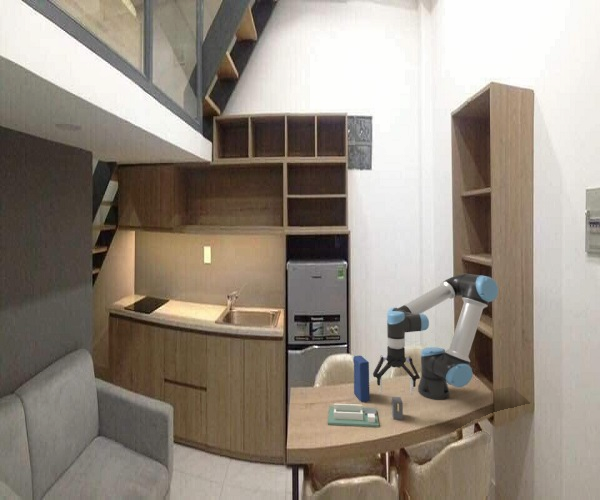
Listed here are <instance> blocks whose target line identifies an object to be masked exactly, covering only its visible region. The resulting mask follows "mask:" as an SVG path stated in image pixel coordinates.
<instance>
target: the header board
mask: <svg viewBox="0 0 600 500" xmlns="http://www.w3.org/2000/svg"><path fill="white" fill-rule="evenodd" d="M328 407H329V408H328V417H327V425H328V426H349V427H363V428H364V427H367V428H369V427H370V428H379V427H380V424H379V423H380V422H379V417H378V411H377V408H376V407H363V404H358V403H357V404H356V403H355V404H354V403H353V404H351V403H333V406H332V405H330V406H328Z"/></svg>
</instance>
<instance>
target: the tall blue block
mask: <svg viewBox="0 0 600 500" xmlns="http://www.w3.org/2000/svg"><path fill="white" fill-rule="evenodd" d="M352 361H353V379H354V380H353V393H354V395H355V397H357V398H358V400H359V401H360V402H362V403H366V402H367V403H368V402H369V401H370V398H371V397H370V362H369V361H368V360H367V359H365V358H364V356H362V355H354V356H353V358H352Z"/></svg>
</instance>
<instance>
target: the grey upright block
mask: <svg viewBox="0 0 600 500" xmlns="http://www.w3.org/2000/svg"><path fill="white" fill-rule="evenodd" d="M403 406H404V405H403V400H402V398H401V396H391V414H392V415H391V416H392V420H393V421H396V420H397V421H403V420H404V415H403V414H404V412H403V411H404V410H403Z"/></svg>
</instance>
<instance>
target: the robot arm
mask: <svg viewBox="0 0 600 500" xmlns="http://www.w3.org/2000/svg"><path fill="white" fill-rule="evenodd" d="M498 295H499V287H498V284H497V282H496V280H495V279H493V278H492V277H491V276H486V275H483V274H481V275H480V274H470V273H460V274H456V275H454V276H451V277H449V278H447V279H445V280H443V281H441V283H440V285H438V286H436V287H434V288H432V289H431V290H429V291H427V292H425V293H424V294H421V295H420V296H417V297H416V298H415V299H412V300H411V301H409V302H407V303H405V304H404V305H401V306H400V307H391V308H389V309H388V310H387V314H386V315H387V317H386V319H387V320H386V328H387V329H386V330H387V331H386V333H387V335H386V336H387V338H386V339H387V340H386V341H387V342H386V343H387V348H386V349H387V351H386V352H387V355H386V356H383V355H380V357H379V361H378V363H377V365H376V367H375V368H374V371H373V373H372V375H373V377H374V378H376V383H377V386H379V393H380V394H382V393H383V377H382V376H383V375H384V374H386V372H388V370H389V369H390V368H397V369H399V368H402V369H404V370H405V372H406V373H407V374H408V375H409V376H410V378H409V380H410V381H409V383H410V384H409V387H410V390H409V393H410V395H411V396H414V388H416V386H417V385H418V386H417V393H419V394H420V396H423V397H424V398H427V399H432V400H445V399H447V398H448V397H450V388H449V385H451V386H453V387H456V388H463V387H465V386H467V385H468V384H469V383H470V382H471V380H472V379H473V374H474V373H473V372H474V371H473V369H472V367H471V366H470V364H471V360H470V357H469V356H470V353H471V348H472V347H473V342H474V340H475V336H476V333H477V329H478V327H479V323H480V319H481V317H482V313H483V310H484V309H485V308H488V306H489V303H490V302H493V301H495V300H496V299H497V298H498ZM456 297H461V300H462V301H463V304H462V306H461V307H462V308H461V311H460V314H459V317H458V321H457V323H456V327H455V329H454V333H453V335H452V339H451V342H450V346H449V349H447V350H445V348H443V347H438V346H437V347H436V346H435V347H434V346H431V347H429V346H428V347H424V348H422V350H421V352H420V369H421V371H420V372H421V373H420V375H421V377H420V375H419V373H418V371H417V369H416V366H415V365H414V363H413V358H412V356H410V355H409V356H408V357H406V353H405V352H406V348H405V346H406V345H405V341H406V340H405V339H406V338H405V337H406V333H415V332H421V331H422V332H423V331H426V330H428V328H429V327H430V326H429V325H430V322H429V318H428V316H427V315H426V314H424V312H426V311H429V310H430V309H432V308H433V307H436V306H437V305H439V304H441V303H442V302H444V301H446V300H448V299H454V298H456ZM386 361H387V362H386ZM384 362H386V364H385V365H384V367H383V364H384ZM406 362H407V363H409V365H410V367H411V368H412V370H413V372H412V371H411V370H410V369H409V368H408V367H407V365H406V364H405V363H406ZM381 368H382V369H381ZM380 369H381V370H380ZM414 374H415V375H414ZM417 380H419V382H418V384H417V385H416V383H417V382H416V381H417Z"/></svg>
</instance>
